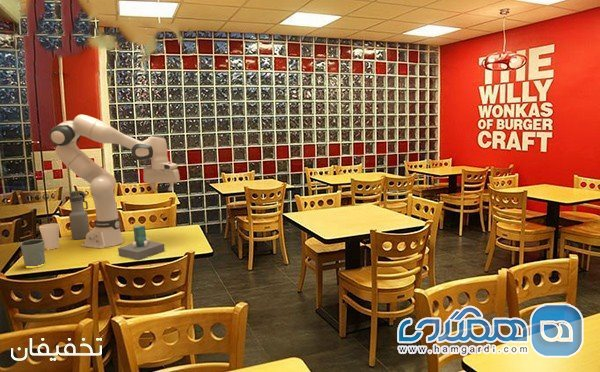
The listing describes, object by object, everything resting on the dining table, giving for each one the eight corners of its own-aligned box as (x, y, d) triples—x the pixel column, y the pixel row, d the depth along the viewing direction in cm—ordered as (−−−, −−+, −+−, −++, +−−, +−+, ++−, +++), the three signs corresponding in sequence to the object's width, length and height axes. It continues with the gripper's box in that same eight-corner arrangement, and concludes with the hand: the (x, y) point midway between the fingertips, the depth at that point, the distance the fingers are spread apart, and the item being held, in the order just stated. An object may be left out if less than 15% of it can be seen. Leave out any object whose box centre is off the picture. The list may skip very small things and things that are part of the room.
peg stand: (118, 255, 231) (117, 242, 230) (145, 247, 244) (143, 234, 243) (138, 260, 222) (137, 246, 221) (164, 251, 235) (163, 238, 234)
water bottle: (82, 234, 276) (76, 189, 271) (94, 235, 272) (88, 189, 267) (68, 239, 266) (62, 192, 262) (80, 240, 263) (74, 193, 258)
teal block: (135, 246, 232) (133, 227, 231) (141, 244, 235) (139, 225, 234) (140, 247, 230) (138, 228, 228) (146, 245, 233) (144, 226, 232)
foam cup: (41, 252, 243) (38, 228, 241) (43, 247, 251) (40, 224, 249) (61, 249, 247) (58, 226, 244) (62, 244, 255) (59, 222, 253)
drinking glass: (36, 261, 227) (32, 238, 225) (52, 262, 224) (49, 239, 222) (18, 268, 217) (14, 244, 215) (35, 269, 215) (31, 245, 213)
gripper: (139, 166, 244) (142, 191, 246) (174, 166, 239) (176, 191, 241) (146, 164, 250) (148, 189, 252) (179, 164, 245) (182, 189, 247)
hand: (162, 190), depth 247 cm, fingers open, 8 cm apart
